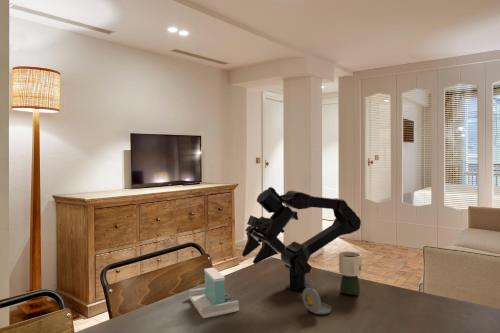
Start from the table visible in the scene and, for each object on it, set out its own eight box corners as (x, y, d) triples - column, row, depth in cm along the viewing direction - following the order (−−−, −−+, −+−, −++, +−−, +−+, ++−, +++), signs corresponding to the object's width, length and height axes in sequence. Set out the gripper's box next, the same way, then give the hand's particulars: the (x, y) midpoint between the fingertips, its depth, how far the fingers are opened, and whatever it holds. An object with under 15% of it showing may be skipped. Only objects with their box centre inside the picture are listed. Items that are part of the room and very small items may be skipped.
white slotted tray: (221, 292, 121) (221, 284, 121) (238, 310, 107) (238, 301, 107) (189, 298, 116) (189, 290, 116) (203, 318, 103) (203, 308, 103)
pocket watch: (332, 307, 109) (332, 274, 108) (329, 319, 101) (329, 284, 101) (305, 303, 112) (305, 271, 111) (300, 315, 104) (299, 281, 103)
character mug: (365, 300, 114) (366, 259, 113) (343, 300, 114) (343, 259, 113) (356, 286, 125) (356, 249, 124) (335, 286, 125) (335, 249, 124)
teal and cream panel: (214, 292, 117) (213, 267, 117) (225, 305, 108) (224, 277, 108) (204, 294, 116) (204, 268, 116) (215, 307, 107) (214, 279, 106)
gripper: (250, 202, 126) (221, 237, 122) (275, 210, 109) (243, 252, 105) (270, 222, 130) (242, 257, 126) (298, 233, 113) (267, 274, 109)
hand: (248, 259), depth 116 cm, fingers open, 8 cm apart
